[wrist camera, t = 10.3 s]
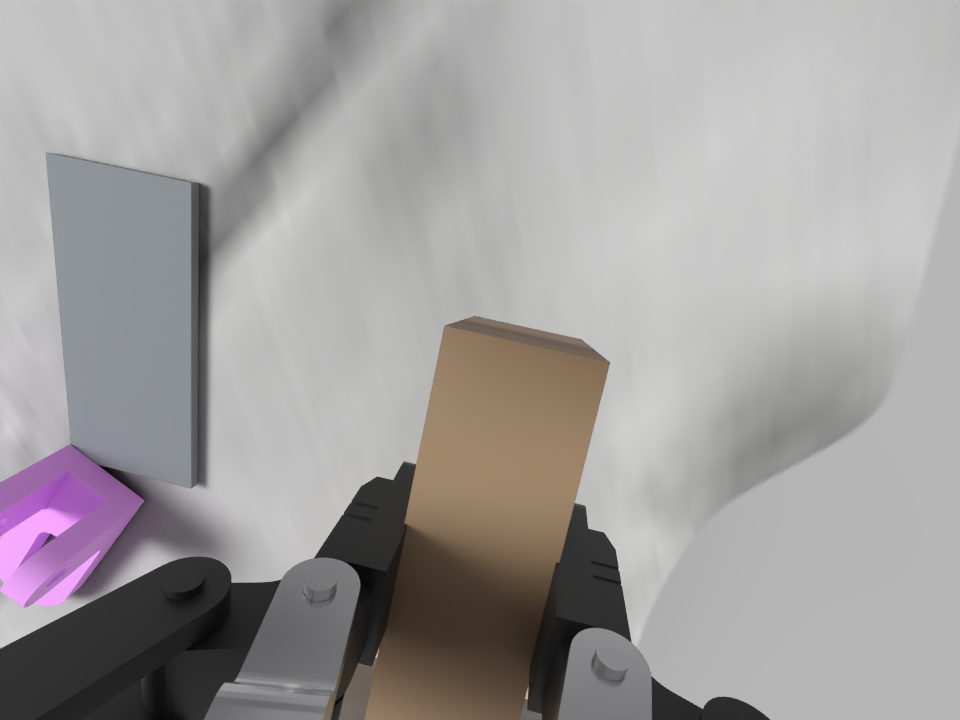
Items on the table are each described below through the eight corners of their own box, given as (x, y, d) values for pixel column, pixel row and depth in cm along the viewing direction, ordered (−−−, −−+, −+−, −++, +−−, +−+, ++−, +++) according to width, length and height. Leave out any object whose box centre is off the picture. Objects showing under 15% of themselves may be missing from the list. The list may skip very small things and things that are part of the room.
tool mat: (56, 153, 26) (45, 152, 26) (199, 183, 26) (191, 182, 25) (80, 453, 32) (72, 458, 31) (197, 483, 31) (191, 488, 31)
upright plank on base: (405, 300, 14) (338, 301, 9) (654, 355, 14) (725, 387, 9) (334, 676, 16) (244, 849, 11) (553, 736, 15) (563, 946, 10)
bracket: (70, 444, 31) (-60, 515, 24) (144, 500, 32) (37, 584, 25) (3, 555, 36) (-121, 640, 29) (69, 602, 36) (-37, 695, 30)
